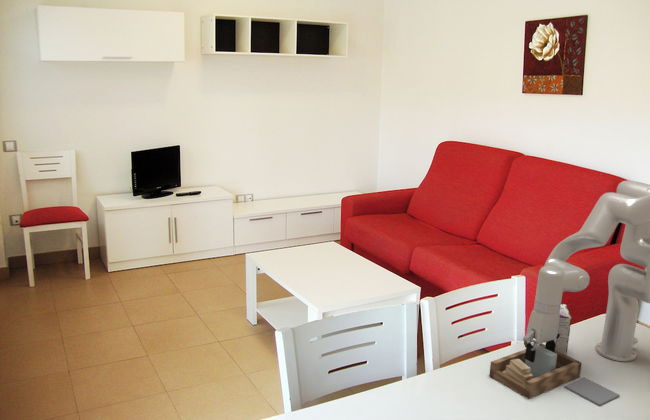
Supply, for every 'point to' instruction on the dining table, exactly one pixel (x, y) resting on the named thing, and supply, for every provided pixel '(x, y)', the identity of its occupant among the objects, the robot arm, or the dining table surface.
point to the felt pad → (592, 391)
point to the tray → (563, 374)
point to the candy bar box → (563, 330)
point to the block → (542, 361)
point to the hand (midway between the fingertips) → (539, 357)
